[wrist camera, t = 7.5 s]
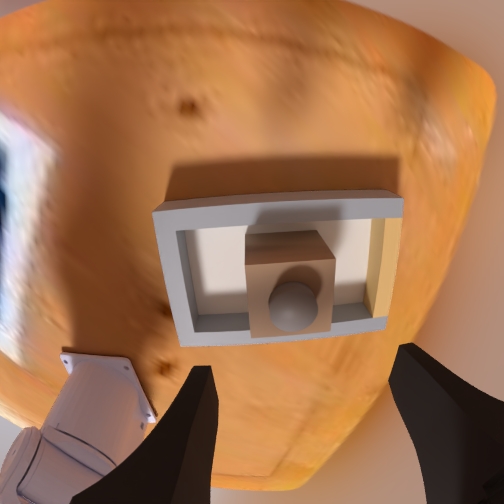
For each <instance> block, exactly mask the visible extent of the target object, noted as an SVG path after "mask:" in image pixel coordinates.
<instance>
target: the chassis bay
mask: <svg viewBox="0 0 504 504" xmlns="http://www.w3.org/2000/svg"><path fill="white" fill-rule="evenodd" d="M403 204H404V198H403V197H401V196H399V195H397V194H394V193H392V192H390V191H388V190H323V191H297V192H276V193H259V194H244V195H230V196H218V197H206V198H195V199H185V200H175V201H166V202H163V203H162V204H161V205H159V206H158V207H157V208H156V209H155V210H154V211H153V212H152V215H153V221H154V227H155V233H156V238H157V244H158V249H159V255H160V260H161V265H162V270H163V275H164V279H165V284H166V289H167V293H168V298H169V302H170V306H171V311H172V315H173V319H174V323H175V327H176V331H177V335H178V339H179V343H180V346H226V345H247V344H263V343H277V342H289V341H300V340H310V339H319V338H328V337H336V336H344V335H351V334H358V333H365V332H372V331H378V330H384V329H385V327H386V323H387V318H388V313H389V308H390V303H391V298H392V293H393V287H394V281H395V275H396V268H397V261H398V254H399V246H400V237H401V228H402V217H403ZM305 230H317V231H318V233H319V234H320V236H321V237H322V239H323V240H324V241H325V243H326V244H327V246H328V247H329V249H330V250H331V252H332V253H333V255H334V256H335V258H336V270H335V285H334V298H333V310H332V321H331V331H329V332H320V333H311V334H301V335H290V336H278V337H265V338H251V334H250V323H249V311H248V300H247V288H246V276H245V234H258V233H273V232H289V231H305Z"/></svg>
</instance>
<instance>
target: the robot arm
mask: <svg viewBox="0 0 504 504" xmlns="http://www.w3.org/2000/svg"><path fill="white" fill-rule="evenodd" d="M60 358H61V360H62V362H63V364H64V366H65V367H66V369H67V371H68V373H69V377H68V379H67V381H66V382H65V384H64V386H63V388H62V390H61V391H60V393H59V395H58V397H57V399H56V401H55V402H54V404H53V406H52V408H51V410H50V412H49V414H48V416H47V418H46V420H45V421H44V423H43V425H42V427H41V429H40V430H38V429H37V428H36V427H34V426H33V427H27V428H24V429H23V430H22V431H21V432H20V433H19V435H18V436H17V438H16V439H15V441H14V442H13V444H12V446H11V448H10V449H9V451H8V453H7V455H6V458H5V460H4V463H3V465H2V468H1V473H0V504H34V503H35V504H210V486H211V471H212V464H213V457H214V450H215V443H216V435H217V428H218V407H219V400H218V395H217V391H216V387H215V382H214V378H213V373H212V369H211V366H194V367H193V368H192V369H191V371H190V373H189V375H188V377H187V379H186V381H185V382H184V384H183V386H182V388H181V389H180V391H179V393H178V394H177V396H176V398H175V399H174V401H173V402H172V404H171V405H170V407H169V408H168V410H167V411H166V413H165V414H164V416H163V417H162V418H161V420H160V421H159V422H158V424H157V425H156V426H155V428H154V429H153V430H152V431H151V433H150V434H149V435H148V436H147V437H146V438H145V440H144V441H143V439H144V435H145V431H146V427H147V424H148V422H150V423H155V422H156V421H157V418H156V416H155V414H154V412H153V410H152V408H151V406H150V404H149V402H148V400H147V398H146V396H145V393H144V391H143V389H142V387H141V385H140V382H139V380H138V378H137V376H136V373H135V371H134V369H133V366H132V364H131V362H130V360H129V359H128V358H125V357H110V356H97V355H86V354H76V353H67V352H61V354H60ZM126 366H127V367H126ZM388 381H389V385H390V388H391V391H392V394H393V398H394V401H395V403H396V406H397V408H398V410H399V412H400V414H401V417H402V419H403V421H404V423H405V425H406V428H407V430H408V432H409V434H410V437H411V439H412V441H413V444H414V446H415V449H416V452H417V456H418V460H419V463H420V467H421V472H422V476H423V481H424V486H425V493H426V501H427V504H504V402H503V401H501V400H498V399H496V398H494V397H492V396H490V395H488V394H486V393H484V392H482V391H480V390H478V389H477V388H475V387H474V386H472V385H470V384H469V383H467V382H466V381H464V380H463V379H461V378H460V377H458V376H457V375H456V374H454V373H453V372H451V371H450V370H449V369H447V368H446V367H445V366H443V365H442V364H441V363H439V362H438V361H437V360H435V359H434V358H433V357H431V356H430V355H429V354H427V353H426V352H425V351H423V350H422V349H421V348H419V347H418V346H417V345H415V344H414V343H407V344H402V345H399V348H398V351H397V355H396V358H395V361H394V365H393V368H392V371H391V374H390V377H389V380H388ZM24 497H25V498H24ZM27 499H28V500H27ZM29 500H30V501H31V502H30V501H29ZM32 502H33V503H32Z"/></svg>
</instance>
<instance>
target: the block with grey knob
mask: <svg viewBox="0 0 504 504" xmlns="http://www.w3.org/2000/svg"><path fill="white" fill-rule="evenodd" d="M335 270H336V258H335V256H334V255H333V253H332V252H331V250H330V249H329V247H328V246H327V244H326V243H325V241H324V240H323V239H322V237H321V236H320V234H319V233H318V231H317V230H305V231H289V232H273V233H258V234H245V276H246V288H247V300H248V311H249V323H250V334H251V338H265V337H278V336H290V335H301V334H311V333H320V332H329V331H331V321H332V310H333V298H334V285H335Z"/></svg>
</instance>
